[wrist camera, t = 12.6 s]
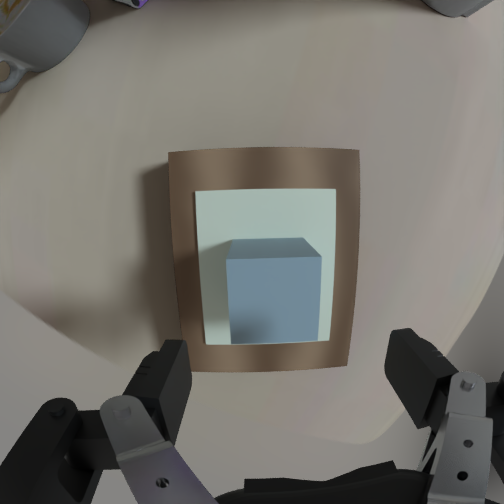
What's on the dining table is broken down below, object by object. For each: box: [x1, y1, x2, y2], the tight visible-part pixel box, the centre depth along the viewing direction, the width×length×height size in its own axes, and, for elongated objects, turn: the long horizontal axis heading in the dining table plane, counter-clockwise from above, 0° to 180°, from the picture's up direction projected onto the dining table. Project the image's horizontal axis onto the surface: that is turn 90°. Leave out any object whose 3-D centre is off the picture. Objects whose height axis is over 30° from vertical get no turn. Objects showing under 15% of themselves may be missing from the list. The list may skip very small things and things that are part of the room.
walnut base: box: [168, 147, 360, 372], centre depth 24 cm, size 14×18×4 cm
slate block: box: [226, 237, 322, 344], centre depth 19 cm, size 5×5×6 cm
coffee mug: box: [0, 0, 90, 93], centre depth 16 cm, size 13×10×10 cm
